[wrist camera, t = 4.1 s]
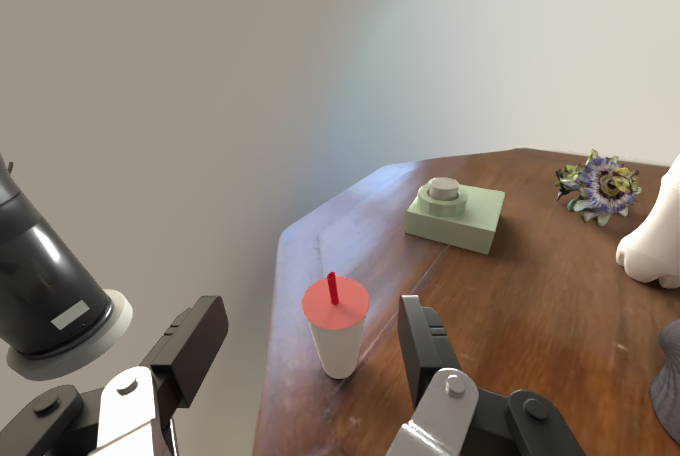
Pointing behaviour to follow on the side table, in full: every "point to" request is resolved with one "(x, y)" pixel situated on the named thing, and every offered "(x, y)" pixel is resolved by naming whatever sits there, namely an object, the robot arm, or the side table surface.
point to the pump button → (443, 189)
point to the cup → (336, 322)
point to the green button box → (457, 218)
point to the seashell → (668, 381)
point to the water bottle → (656, 238)
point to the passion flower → (599, 188)
